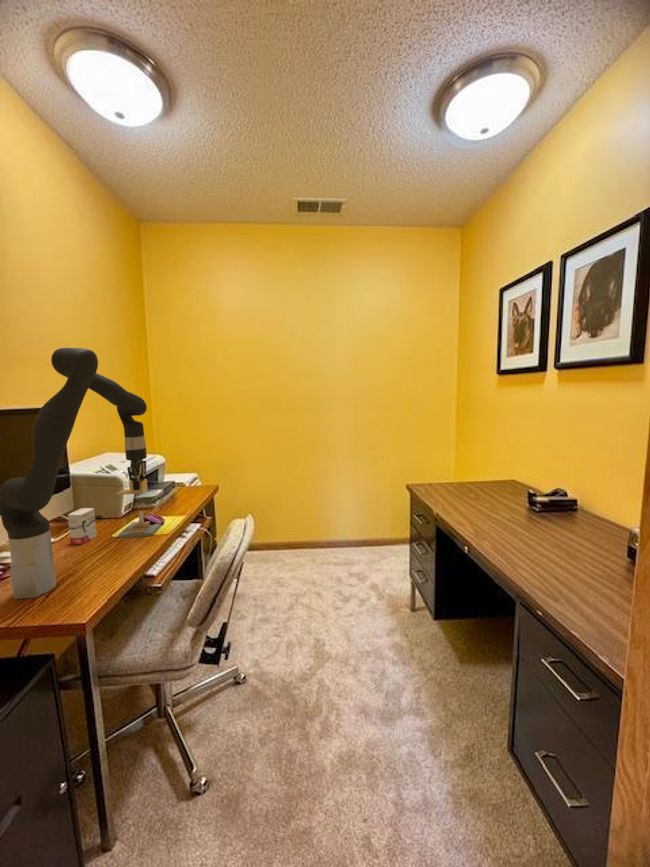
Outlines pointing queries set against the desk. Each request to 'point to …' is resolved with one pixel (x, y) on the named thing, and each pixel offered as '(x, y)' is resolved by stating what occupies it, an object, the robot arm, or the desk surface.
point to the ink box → (82, 525)
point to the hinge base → (140, 528)
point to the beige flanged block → (142, 490)
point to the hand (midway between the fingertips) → (139, 488)
